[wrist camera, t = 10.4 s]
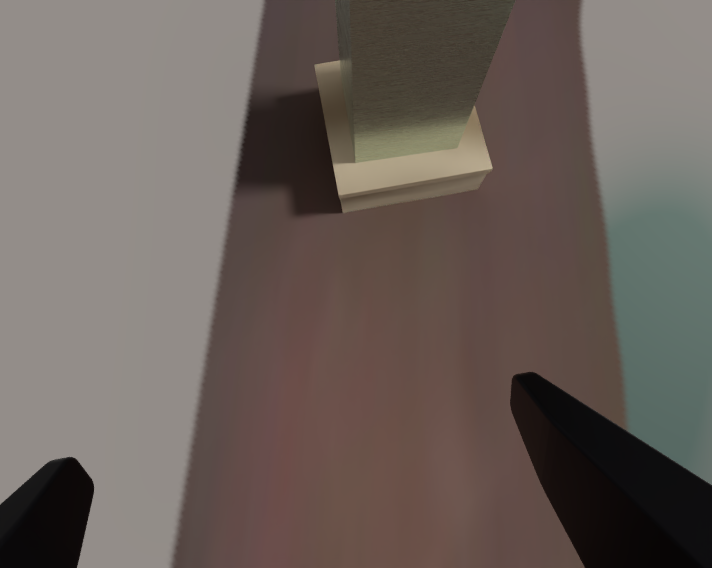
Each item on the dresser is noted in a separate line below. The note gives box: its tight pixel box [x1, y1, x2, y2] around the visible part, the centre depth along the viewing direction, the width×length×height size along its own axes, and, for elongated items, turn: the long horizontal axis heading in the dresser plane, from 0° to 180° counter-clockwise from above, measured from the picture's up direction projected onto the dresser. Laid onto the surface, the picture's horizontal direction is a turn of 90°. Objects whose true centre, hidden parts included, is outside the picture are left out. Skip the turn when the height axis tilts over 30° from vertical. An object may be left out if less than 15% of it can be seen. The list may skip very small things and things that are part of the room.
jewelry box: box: [315, 61, 493, 213], centre depth 24 cm, size 8×8×3 cm
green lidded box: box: [335, 0, 515, 163], centre depth 17 cm, size 6×6×12 cm
